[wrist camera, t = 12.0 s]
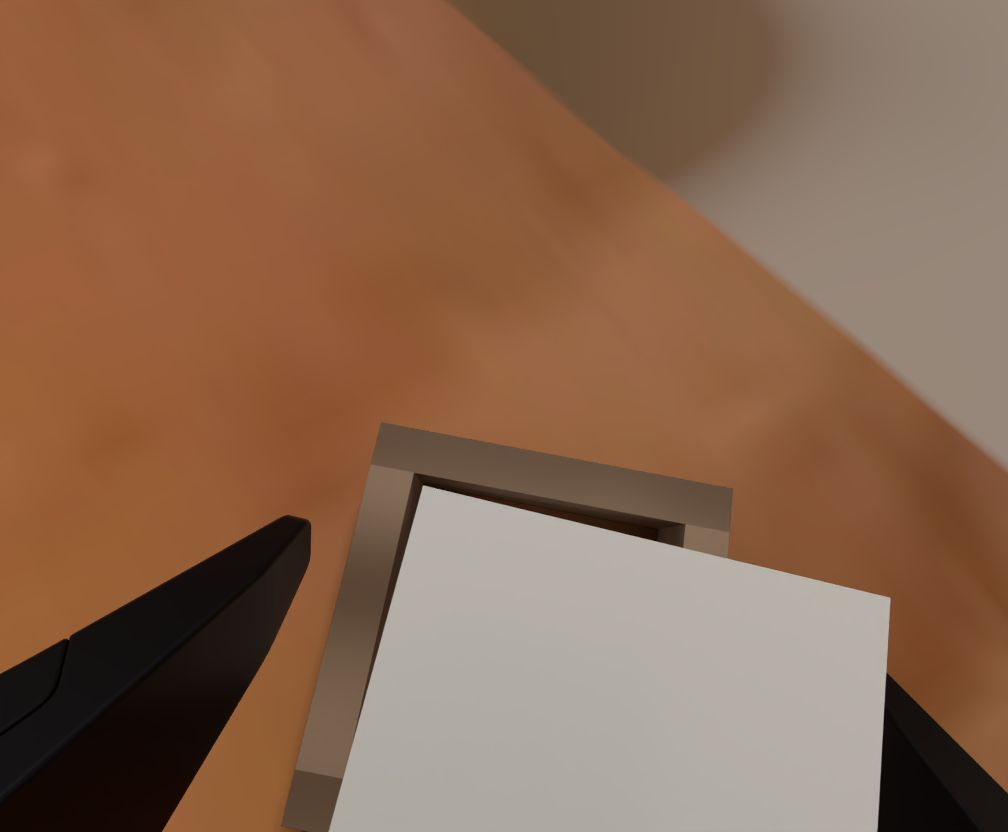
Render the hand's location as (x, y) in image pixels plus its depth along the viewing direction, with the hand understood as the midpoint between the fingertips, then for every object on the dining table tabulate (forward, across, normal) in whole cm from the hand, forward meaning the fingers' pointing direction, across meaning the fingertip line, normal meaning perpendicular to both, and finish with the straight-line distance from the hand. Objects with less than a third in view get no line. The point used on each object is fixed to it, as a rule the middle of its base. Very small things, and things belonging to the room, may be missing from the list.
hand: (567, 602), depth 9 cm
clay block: (+5, 0, +7) cm, 8 cm away
